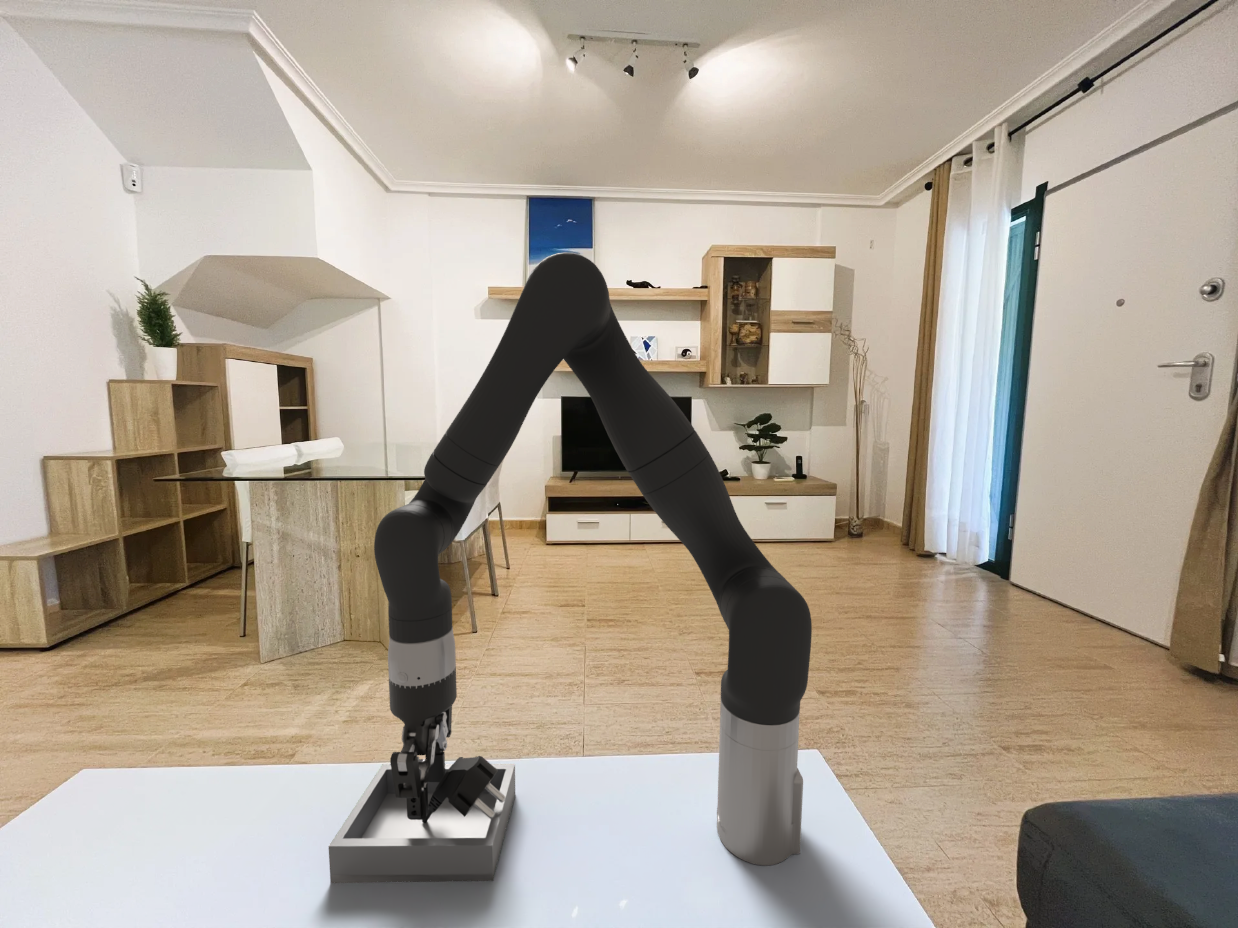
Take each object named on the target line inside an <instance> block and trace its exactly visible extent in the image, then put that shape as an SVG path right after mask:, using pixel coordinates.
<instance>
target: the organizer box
mask: <svg viewBox="0 0 1238 928" xmlns="http://www.w3.org/2000/svg"><path fill="white" fill-rule="evenodd" d="M453 764H454V763H445V773H446V771H447V770H448V769H449V768H450V767H451V766H452V765H453ZM490 764H491V765H492V766H493V767H495V768H496V769H497V770H498V771H497V773H496V775H495V776H494V778H493V779H492V780H491V782H490V783H491V784H492V785H493V786H494V787H495V788H496V789H497V790H499V791H500V792H501V793H502V794H503V795H504V796H505V801H504V802H503V803H501V802H500V801H499V800H497V799H496V798H495V797H494V796H493V795H492V794H491V793H490V792H488V791H487V790H486V789H485V791H484V792H483V793H482V795H481V796H480V797H479V799H480V800H481V801H482V802H484V803H485V804H486V805H487V806H488V807H489V808H490V809H491V810H492V811H494V813H495V815H494V817H493V818H492V819H490V818H488V817H487V816H486V815H485V814H484V813H483V812H482V811H481V810H479V809H478V808H477V807H476V806H475V805H474V806H473V807H472V808H471V810H470V811H469V812H468V814H467V815H466V816H465V817H464V816H463V815H462V814H461V813H460V812H459V811H458V810H457V809H456V808H454V807H453V806H452V805H451V804H450V803H449V802H448V801H449V800H448V798H446V799H445V800H444V802H443V803H442V804H441V805H440V806H439V808H438V809H437V810H436V811H435V812H434V813H432V814H431V816H430V818H429V819H428V821H427V822H426V823H423V822H422V820H410V819H409V818H408V817H407V798H396V795H395V789H394V782H393V776H392V770H391V763H386V764H385V763H382V764H381V766H380V767H379V768H378V770H377V772H376V773H375V774H374V776H373V777H372V779H371V781H370V782H369V783H368V785H367V787H366V788H365V790H364V791H363V793H362V795H361V796H360V797H359V799H358V801H357V802H356V803H355V805H354V807H353V808H352V809H351V811H350V813H349V814H348V815H347V818H346V819H345V820H344V822H343V823H342V825H341V826H340V828H339V829H338V831H337V832H336V834H335V835H334V837H333V838H332V840H331V841H330V843H329V845H328V860H329V861H328V862H329V876H330V877H329V879H330V884H371V883H373V884H374V883H375V884H377V883H378V884H380V883H381V884H382V883H387V884H388V883H389V884H390V883H443V882H444V883H445V882H446V883H447V882H448V883H450V882H453V883H454V882H455V883H456V882H493V881H494V879H495V875H496V872H497V871H496V870H497V867H498V863H499V860H500V856H501V852H502V848H503V845H504V840H505V837H506V833H507V829H508V825H509V821H510V818H511V813H512V809H513V805H514V802H515V798H516V764H515V763H490ZM419 772H420V779H421V770H420V769H419ZM438 784H439V782H428V786H427V787H428V804H429V802H430V799H431V797H432V795H433V792H434V791H435V789H436V787H437V785H438ZM428 809H429V808H428Z"/></svg>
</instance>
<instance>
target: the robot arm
mask: <svg viewBox="0 0 1238 928" xmlns="http://www.w3.org/2000/svg"><path fill="white" fill-rule="evenodd" d="M609 292H610V290H609V288H608V285H607V282H606V279H605V277H604V275H603V273H602V271H601V270H600V269H599V267H598V266H597V265H596V264H595V263H594V262H593V261H592V260H591V259H589V258H587V257H586V256H584V255H582V254H578V253H575V252H569V251H567V252H566V251H565V252H558V253H557V252H556V253H555V254H552V255H549V256H547V257H545V258H544V259H542V260H541V261H540V262H539V263H538V264H537V265H535V267H533V269H532V270H531V272H530V274H529V276H528V278H527V280H526V282H525V284H524V287H523V289H522V291H521V293H520V295H519V298H518V300H517V302H516V305H515V307H514V310H513V312H512V314H511V317H510V319H509V321H508V324H507V326H506V328H505V330H504V333H503V334H502V336H501V339H500V341H499V343H498V345H497V347H496V348H495V351H494V353H493V354H492V356H491V358H490V361H489V362H488V363H487V366H486V368H485V369H484V371H483V373H482V375H481V377H480V378H479V380H478V382H477V383H476V385H475V386H474V388H473V389H472V391H471V393H470V394H469V396H468V398H467V399H466V400H465V402H464V403H463V405H462V407H461V408H460V410H459V412H458V413H457V415H456V416H455V418H454V419H453V420H452V422H451V424H450V425H449V426H448V428H447V429H446V430H445V433H444V434H443V436H442V437H441V438H440V441H439V442H438V443H437V445H436V447H435V448H434V449H433V451H432V452H431V454H430V455H429V458H428V459H427V461H426V463H425V466H424V469H423V475H424V478H425V479H424V481H423V482H422V484H421V485H420V487H419V489H418V491H417V493H416V494H415V495H414V496H413V498H412V499H411V501H409V503H406V504H405V505H402V506H400V507H396V509H393V510H391V511H389V512H388V513H386V514H385V516H384V517H382V519H381V520H380V521H379V523H378V526H377V528H376V531H375V535H374V541H373V542H374V545H373V552H374V558H375V559H374V560H375V564H376V566H377V567H376V568H377V571H378V574H379V578H380V581H381V585H382V588H383V591H384V593H385V596H386V598H387V601H388V606H387V607H388V612H387V614H388V615H387V616H388V634H389V636H388V637H389V640H388V641H389V642H388V649H387V668H388V669H387V670H388V690H389V693H388V694H389V695H388V697H389V710H390V712H391V714H392V715H393V716H394V717H396V718H397V719H399V720H400V721H402V723H403V724H404V725H403V727H402V731H401V742H402V749H401V750H400V751H393V752H392V753H391V755H390V761H389V764H391V770H392V776H393V782H394V789H395V795H396V798H407V817H408V818H409V819H410V820H423V819H425V818H426V816H427V814H428V787H427V786H428V782H440V781H441V779H442V778H443V776H444V774H445V764H446V762H445V761H446V759H445V757H446V756H445V755H446V754H445V751H446V750H447V748H448V740H447V738H451V735H452V732H453V730H452V718H453V714H452V713H453V705H454V704H455V701H456V700H457V696H458V694H457V692H458V691H457V690H458V689H457V661H456V654H457V653H456V641H455V640H456V639H455V634H454V630H453V629H454V626H453V600H452V599H453V597H452V591H451V588H450V585H449V583H447V581H445V580H444V579H442V578H441V575H440V568H439V555H440V554H442V553H443V552H444V551H446V550H447V548H448V547H449V546H450V545H451V544H452V543H453V541H454V540H455V539H456V537H457V536H458V535H459V533H460V531H461V529H462V528H463V526H464V524H465V523H466V521H467V519H468V517H469V514H470V513H471V511H472V509H473V507H474V505H475V502H476V500H477V498H478V497H479V495H480V494H481V493H482V492H483V490H484V489H485V488H486V487H487V485H488V483H489V482H490V480H491V479H492V477H493V476H494V474H495V473H496V471H497V470H498V469H499V467H500V465H501V463H502V462H503V460H504V459H505V458H506V456H507V455H508V453H509V451H510V449H511V448H512V446H513V444H514V442H515V440H516V439H517V437H518V434H519V432H520V431H521V428H522V427H523V424H524V422H525V420H526V418H527V416H528V413H529V412H530V410H531V407H532V406H533V404H534V402H535V400H536V398H537V397H538V395H539V393H540V391H541V390H542V389H543V387H544V386H545V384H546V382H547V380H549V378H550V376H552V374H553V373H554V372H555V369H557V368H558V366H559V365H560V363H561V362H562V361H564V362H565V363H566V364H567V366H569V368H570V370H571V371H572V372H573V374H574V375H575V376H576V378H577V379H578V380H579V382H580V383H581V384H582V386H583V387H584V389H585V391H586V392H587V394H588V395H589V397H590V398H591V400H592V401H591V402H593V404H594V406H595V408H596V412H597V413H598V415H599V418H600V420H601V423H602V425H603V427H604V429H605V431H606V433H607V436H608V438H609V440H610V442H611V444H612V446H613V448H614V450H615V452H616V453H617V455H618V457H619V459H620V461H621V463H622V465H623V467H625V470H626V471H627V473H628V475H629V476H630V477H631V479H632V480H633V482H634V484H635V485H636V487H637V489H638V490H639V491H640V493H641V495H642V496H643V498H644V499H645V500H646V502H647V503H648V504H649V506H650V507H651V508H652V510H653V511H654V512H655V514H656V515H657V517H658V518H659V519H660V520H661V521H662V522H663V524H664V525H666V527H667V528H668V529H669V530H670V532H671V533H672V534H673V535H674V536H675V537H676V538H677V539H678V540H679V541H680V543H681V544H683V546H684V547H685V548H686V549H687V551H688V552H689V553H690V555H691V556H692V558H693V559H694V561H695V562H696V564H697V567H698V568H699V570H700V571H701V574H702V576H703V578H704V580H705V582H706V583H707V586H708V587H709V590H710V591H711V594H712V596H713V598H714V601H715V602H716V605H717V607H718V610H719V613H720V615H721V618H722V619H723V621H724V623H725V626H726V627H727V629H728V656H727V669H726V670H725V671H724V672H723V674H722V676H721V681H720V705H719V706H720V707H719V709H720V710H719V711H720V712H719V715H720V716H719V743H718V744H719V745H718V775H717V776H718V779H717V806H716V807H717V808H716V830H717V834H718V837H719V839H720V841H721V842H722V844H723V846H724V848H726V849H727V850H728V851H729V852H730V853H732V854H733V855H734V856H736V858H739V859H741V861H744V862H747V863H750V864H752V865H757V866H758V865H759V866H772V865H778V864H780V863H782V862H784V861H785V860H786V859H787V858H789V857H790V856H791V855H797V854H798V855H800V853H801V840H802V839H801V838H802V837H801V836H802V818H803V817H802V816H803V798H804V797H803V795H804V794H803V793H804V791H803V790H804V779H803V775H802V774H801V771H800V770H799V768H798V760H799V759H798V757H799V755H798V754H799V737H800V736H799V735H800V733H799V732H800V731H799V730H800V713H801V712H800V711H801V701H802V699H803V697H804V695H805V693H806V691H807V687H808V681H809V672H810V671H809V669H810V663H811V662H810V660H811V650H812V649H811V648H812V635H813V634H812V633H813V631H812V630H813V629H812V628H813V627H812V626H813V625H812V616H811V615H812V614H811V610H810V607H809V605H808V603H807V602H806V600H805V598H804V596H803V595H802V594H801V593H800V592H799V591H798V590H797V588H795V587H794V586H793V585H792V584H791V583H790V582H789V581H788V580H787V579H786V578H785V577H784V576H783V575H782V574H781V573H780V572H779V571H778V570H777V569H776V568H775V567H774V566H773V565H772V563H771V562H770V561H769V560H768V558H766V556H765V554H763V552H762V551H761V549H759V547H758V545H756V543H755V541H753V538H751V536H750V535H749V534H748V532H747V531H746V529H745V527H744V526H743V525H742V523H741V521H740V519H739V517H738V514H737V513H736V510H735V508H734V504H733V501H732V499H731V497H730V493H729V491H728V489H727V487H726V484H725V482H724V479H723V477H722V474H721V473H720V470H719V469H718V467H717V465H716V462H715V461H714V458H713V456H712V455H711V453H710V452H709V450H708V449H707V447H706V446H705V443H704V442H703V440H702V439H701V438H700V436H699V433H698V432H697V431H696V430H695V428H694V426H693V425H692V423H691V422H690V421H689V419H688V417H687V416H686V415H685V413H684V412H683V411H682V410H681V409H680V407H679V405H677V403H676V402H675V401H674V400H673V399H672V397H671V396H670V395H669V394H668V392H667V391H666V390H665V389H664V388H663V386H661V385H660V383H659V382H658V381H657V380H656V379H655V378H654V377H653V376H652V375H651V374H650V372H649V371H648V370H647V368H645V366H644V365H643V364H642V362H641V360H640V359H639V358H638V356H637V354H636V353H635V351H634V350H633V347H632V345H631V343H630V342H629V340H628V338H627V336H626V334H625V333H624V331H623V329H622V327H621V325H620V322H619V320H618V319H617V316H616V314H615V312H614V310H613V307H612V304H611V302H610V293H609ZM419 756H424V757H425V758H420V757H419ZM419 769H420V770H421V779H420V772H419Z"/></svg>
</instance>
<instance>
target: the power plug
mask: <svg viewBox="0 0 1238 928" xmlns="http://www.w3.org/2000/svg"><path fill="white" fill-rule="evenodd" d="M452 764H453V765H452V766H451V767H450V768H449V769H448V770H447V771H446V773H445V774H444V776H443V778H442V779H441V781H440V782H439V784H438V785H437V787H436V789H435V791H434V792H433V795H432V797H431V799H430V802H429V804H428V808H429V809H428V814H427V816H426V818H425V819H423V820H422V822H423V823H426V822H427V821H428V819H429V818H430V816H431V814H432V813H434V812H435V811H436V810H437V809H438V808H439V806H440V805H441V804H442V803H443V802H444V800H445V799H446V798H448V800H449V801H448V802H449V803H450V804H451V805H452V806H453V807H454V808H456V809H457V810H458V811H459V812H460V813H461V814H462V815H463V816H464V817H465V816H466V815H467V814H468V812H469V811H470V810H471V808H472V807H473V806H474V805H475V806H476V807H477V808H478V809H479V810H481V811H482V812H483V813H484V814H485V815H486V816H487V817H488V818H490V819H492V818H493V817H494V815H495V813H494V811H492V810H491V809H490V808H489V807H488V806H487V805H486V804H485V803H484V802H482V801H481V800H480V799H479V797H480V796H481V795H482V793H483V792H484V791H485V789H486V790H487V791H488V792H490V793H491V794H492V795H493V796H494V797H495V798H496V799H497V800H499V801H500V802H501V803H503V802H504V801H505V796H504V795H503V794H502V793H501V792H500V791H499V790H497V789H496V788H495V787H494V786H493V785H492V784H491V783H490V782H491V780H492V779H493V778H494V776H495V775H496V773H497V771H498V770H497V769H496V768H495V767H493V766H492V765H491V764H492V763H490V762H489V761H488V760H486V758H484V757H483V756H482V755H481V756H480V755H478V756H474V757H463V756H459V757H458V758H457V759H456V760H455V761H454V762H453V763H452Z"/></svg>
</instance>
